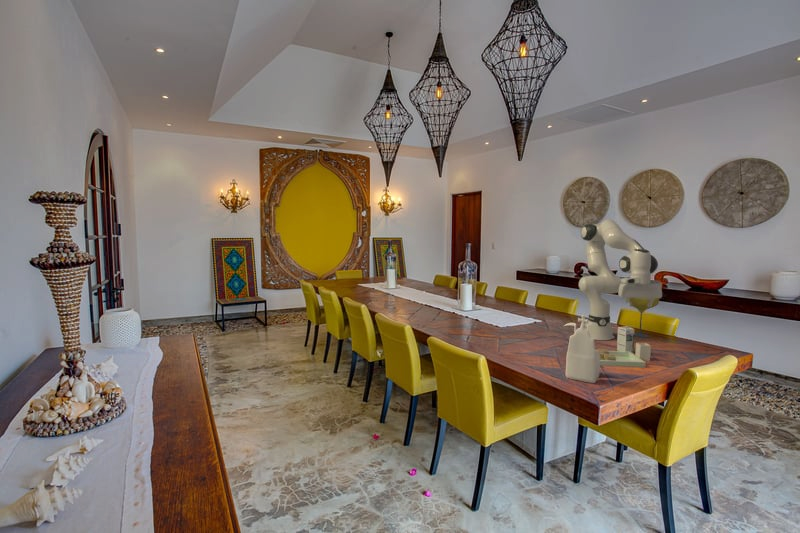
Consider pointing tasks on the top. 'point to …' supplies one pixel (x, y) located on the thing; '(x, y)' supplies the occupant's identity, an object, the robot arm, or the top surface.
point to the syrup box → (625, 339)
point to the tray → (624, 360)
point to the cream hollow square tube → (643, 351)
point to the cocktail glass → (642, 310)
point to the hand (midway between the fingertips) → (639, 306)
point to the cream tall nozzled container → (582, 355)
